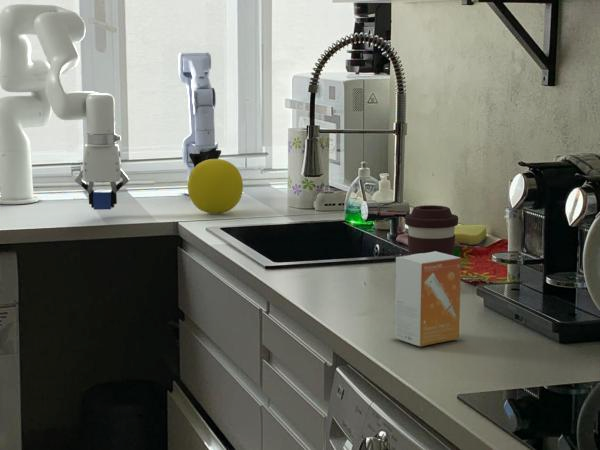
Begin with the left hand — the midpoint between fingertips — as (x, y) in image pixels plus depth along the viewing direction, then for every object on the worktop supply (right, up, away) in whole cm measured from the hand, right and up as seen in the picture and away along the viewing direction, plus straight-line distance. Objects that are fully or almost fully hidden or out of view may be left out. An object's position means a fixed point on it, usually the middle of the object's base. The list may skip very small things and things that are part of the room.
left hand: (102, 206), depth 284 cm
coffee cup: (+78, -17, -86) cm, 118 cm away
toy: (+30, -2, +4) cm, 31 cm away
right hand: (+26, +9, +25) cm, 37 cm away
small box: (+73, -23, -122) cm, 144 cm away
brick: (0, -1, 0) cm, 0 cm away
